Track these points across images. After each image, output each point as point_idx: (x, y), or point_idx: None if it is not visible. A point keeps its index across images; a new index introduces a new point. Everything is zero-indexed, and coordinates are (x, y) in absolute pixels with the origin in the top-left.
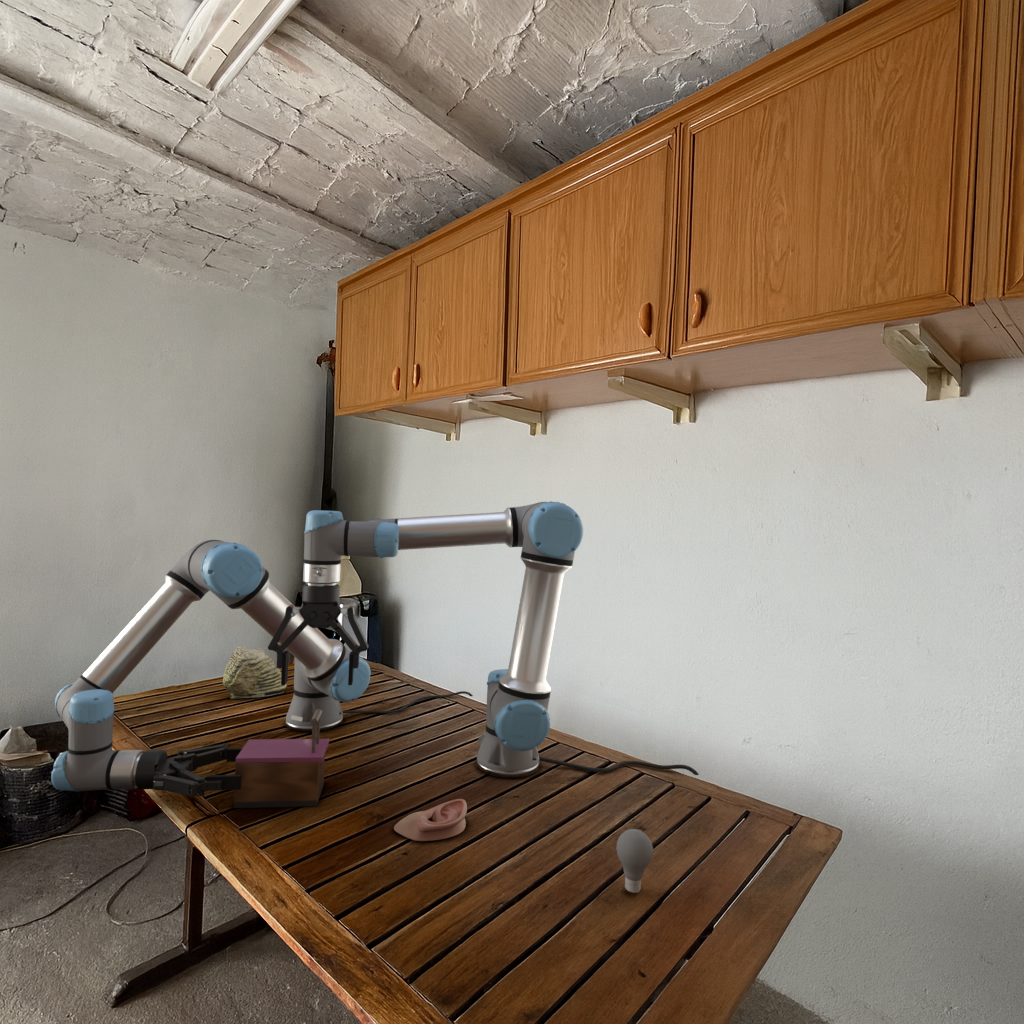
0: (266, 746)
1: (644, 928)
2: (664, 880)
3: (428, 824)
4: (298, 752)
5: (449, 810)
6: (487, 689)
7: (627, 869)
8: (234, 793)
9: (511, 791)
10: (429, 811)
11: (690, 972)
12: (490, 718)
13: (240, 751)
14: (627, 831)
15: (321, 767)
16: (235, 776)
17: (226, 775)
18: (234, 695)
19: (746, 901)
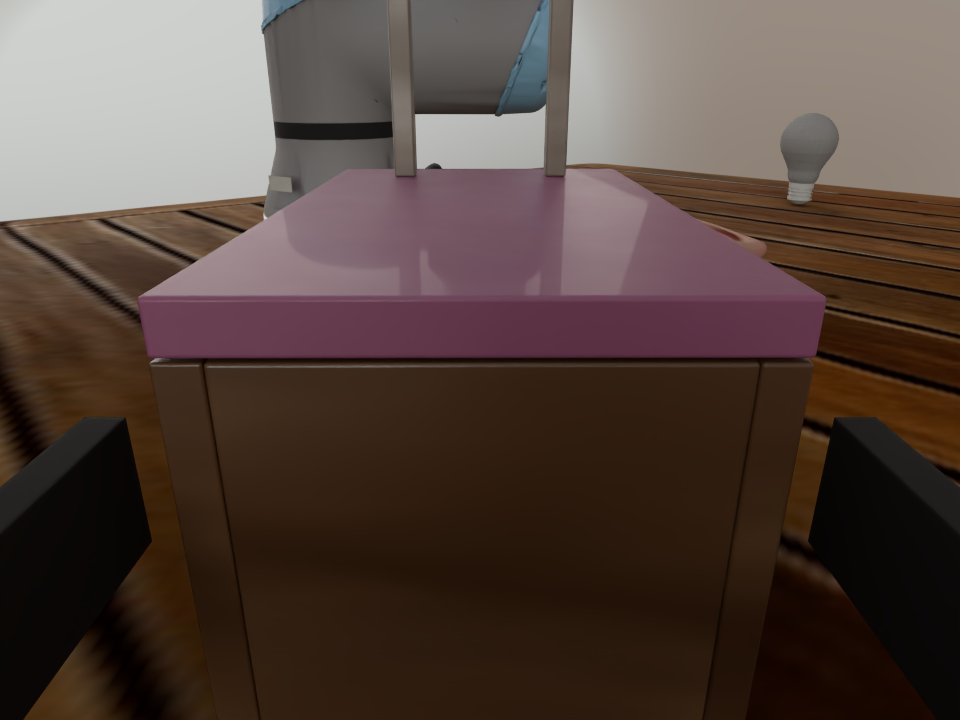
0: (439, 233)
1: (879, 207)
2: (754, 197)
3: (751, 240)
4: (563, 187)
5: None
6: (316, 13)
7: (822, 166)
8: (752, 673)
9: None
10: None
11: (941, 202)
12: (355, 94)
13: (3, 569)
14: (812, 116)
15: None
16: (904, 445)
17: (945, 506)
18: None
19: (770, 184)
